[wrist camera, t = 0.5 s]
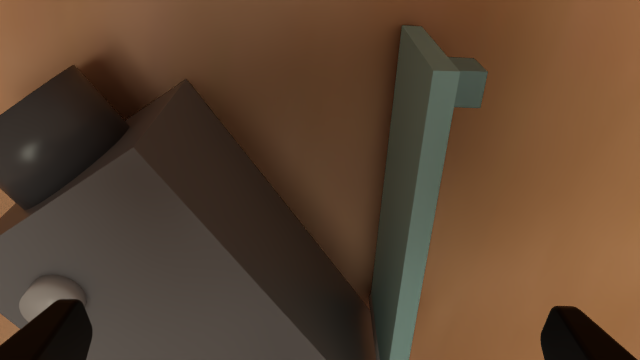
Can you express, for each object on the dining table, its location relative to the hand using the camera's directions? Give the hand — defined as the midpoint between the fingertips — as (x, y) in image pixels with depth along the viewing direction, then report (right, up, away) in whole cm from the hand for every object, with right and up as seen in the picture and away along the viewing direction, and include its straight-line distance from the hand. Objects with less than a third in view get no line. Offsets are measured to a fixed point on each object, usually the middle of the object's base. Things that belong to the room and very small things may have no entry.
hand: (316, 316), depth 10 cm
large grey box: (-6, 0, +16) cm, 17 cm away
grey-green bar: (+4, +2, +14) cm, 15 cm away
